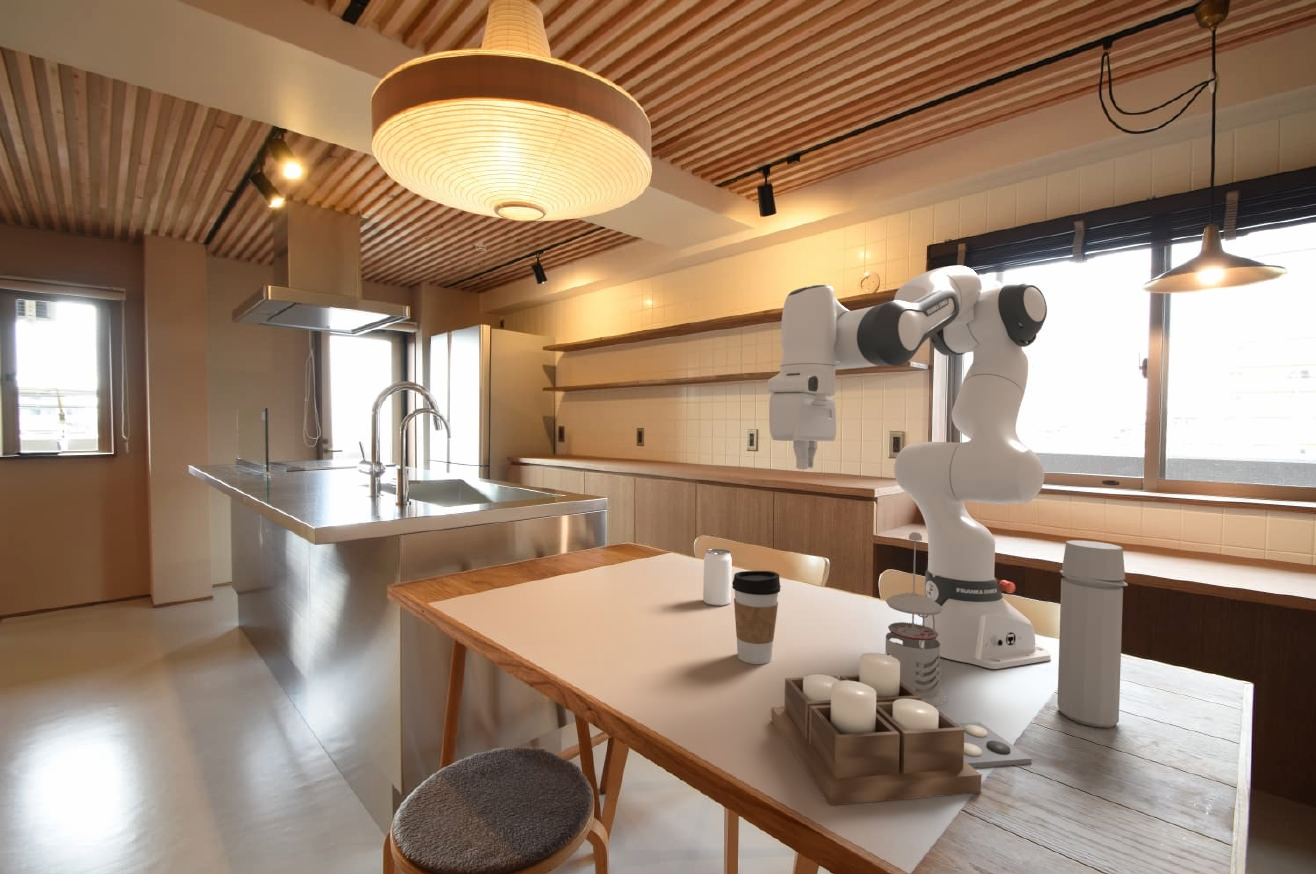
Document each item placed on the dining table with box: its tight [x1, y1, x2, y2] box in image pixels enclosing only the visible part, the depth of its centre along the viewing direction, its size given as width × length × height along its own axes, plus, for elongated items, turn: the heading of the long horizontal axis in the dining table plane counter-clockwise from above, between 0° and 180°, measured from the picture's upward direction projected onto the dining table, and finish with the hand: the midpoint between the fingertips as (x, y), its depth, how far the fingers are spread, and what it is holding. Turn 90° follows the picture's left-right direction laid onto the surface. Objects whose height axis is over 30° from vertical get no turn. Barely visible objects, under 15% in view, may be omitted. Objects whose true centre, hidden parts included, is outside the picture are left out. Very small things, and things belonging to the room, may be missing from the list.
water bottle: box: [1056, 539, 1129, 728], centre depth 83 cm, size 9×8×25 cm
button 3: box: [858, 652, 900, 698], centre depth 77 cm, size 5×5×5 cm
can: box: [702, 548, 733, 607], centre depth 135 cm, size 6×6×12 cm
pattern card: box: [955, 721, 1033, 769], centre depth 75 cm, size 9×9×1 cm
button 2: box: [830, 680, 876, 735], centre depth 68 cm, size 5×5×5 cm
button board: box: [770, 674, 982, 806], centre depth 72 cm, size 18×18×6 cm
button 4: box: [892, 699, 939, 731], centre depth 69 cm, size 5×5×5 cm
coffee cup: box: [731, 570, 782, 665], centre depth 102 cm, size 8×8×15 cm
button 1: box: [803, 673, 839, 701], centre depth 75 cm, size 5×5×5 cm
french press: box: [884, 531, 947, 707], centre depth 91 cm, size 10×12×25 cm
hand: (804, 469), depth 95 cm, fingers closed
